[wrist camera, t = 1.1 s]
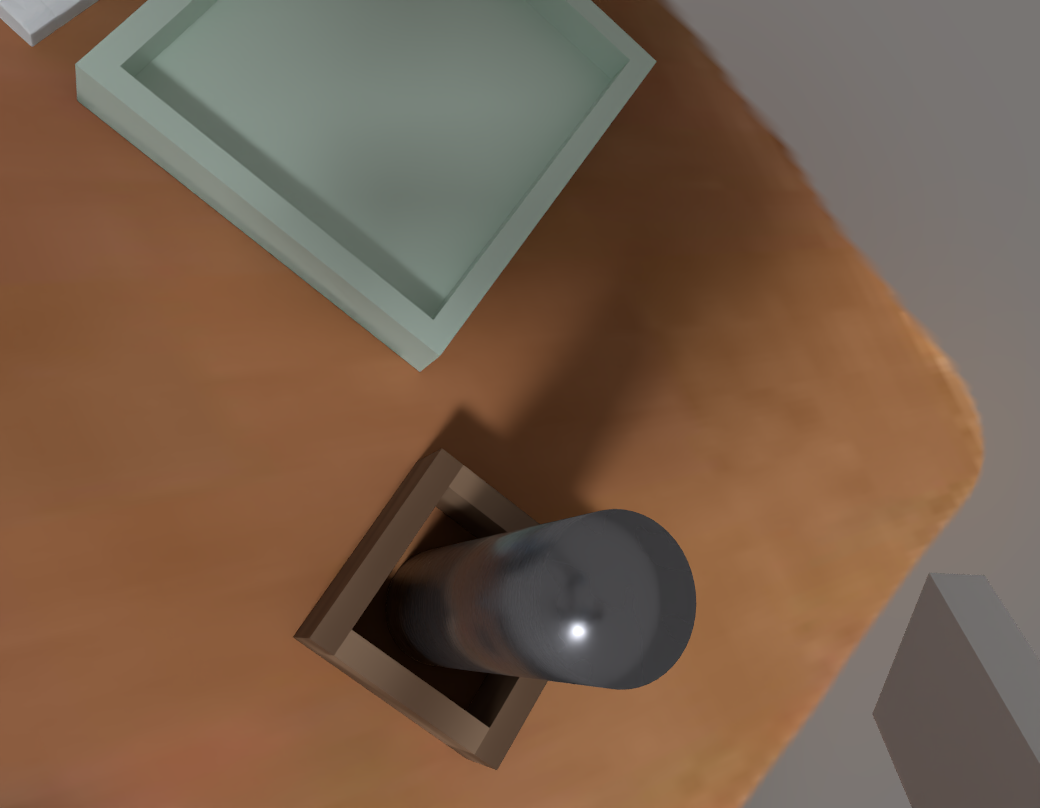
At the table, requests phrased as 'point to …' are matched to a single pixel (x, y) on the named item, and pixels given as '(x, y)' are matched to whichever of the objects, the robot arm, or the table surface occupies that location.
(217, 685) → the table surface
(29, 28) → the external hard drive
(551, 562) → the pin
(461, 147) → the tray
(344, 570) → the pin socket
